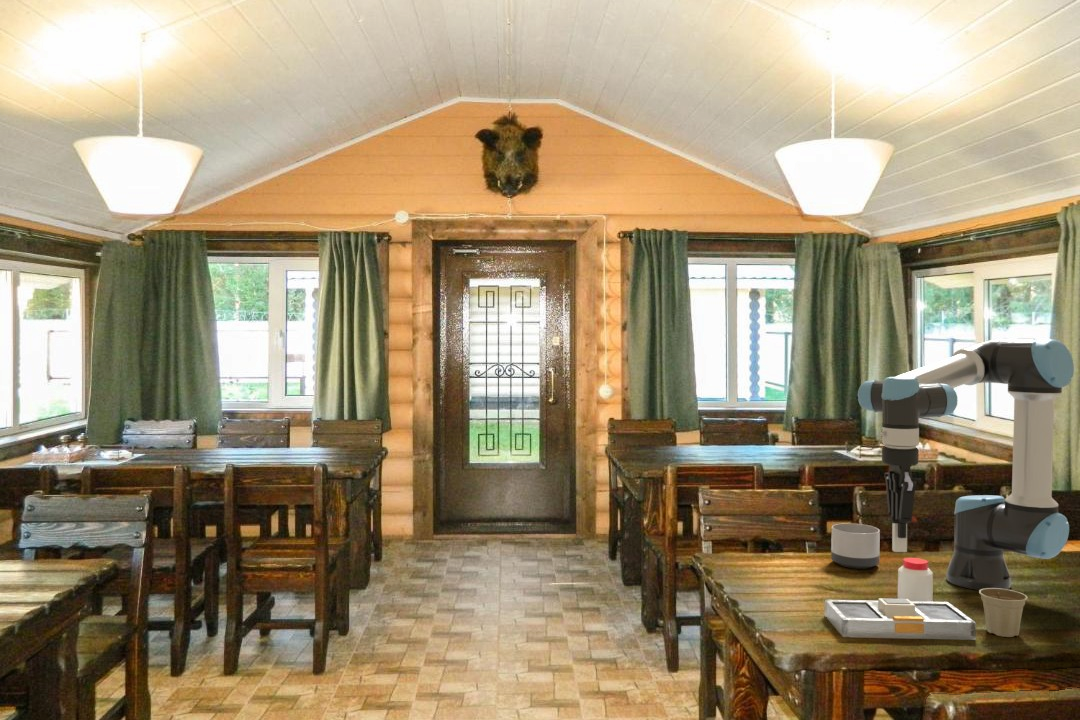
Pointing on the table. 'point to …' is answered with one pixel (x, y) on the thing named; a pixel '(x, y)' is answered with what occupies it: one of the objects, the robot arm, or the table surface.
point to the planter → (855, 545)
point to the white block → (896, 607)
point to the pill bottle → (915, 580)
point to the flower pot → (1003, 610)
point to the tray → (899, 621)
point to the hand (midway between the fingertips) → (899, 551)
